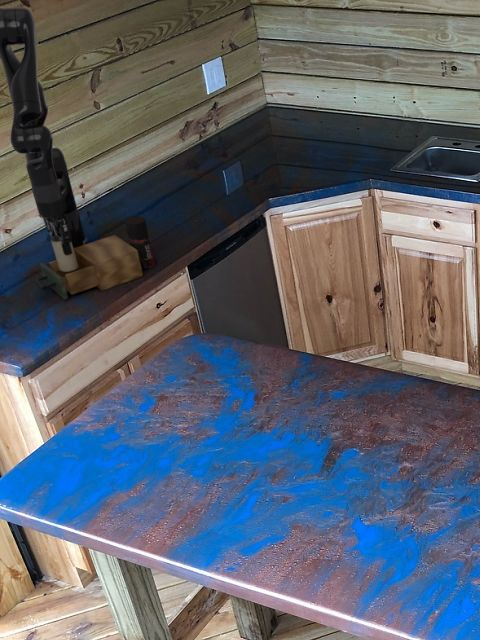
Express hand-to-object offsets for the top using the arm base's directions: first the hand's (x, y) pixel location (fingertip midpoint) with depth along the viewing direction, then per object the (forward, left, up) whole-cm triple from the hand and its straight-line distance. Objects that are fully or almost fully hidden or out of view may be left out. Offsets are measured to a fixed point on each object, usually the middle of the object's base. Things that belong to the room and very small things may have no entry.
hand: (63, 250), depth 270 cm
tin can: (0, 0, -6) cm, 6 cm away
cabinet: (0, +12, -12) cm, 17 cm away
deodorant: (+1, +23, -12) cm, 26 cm away
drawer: (0, -2, -11) cm, 11 cm away
